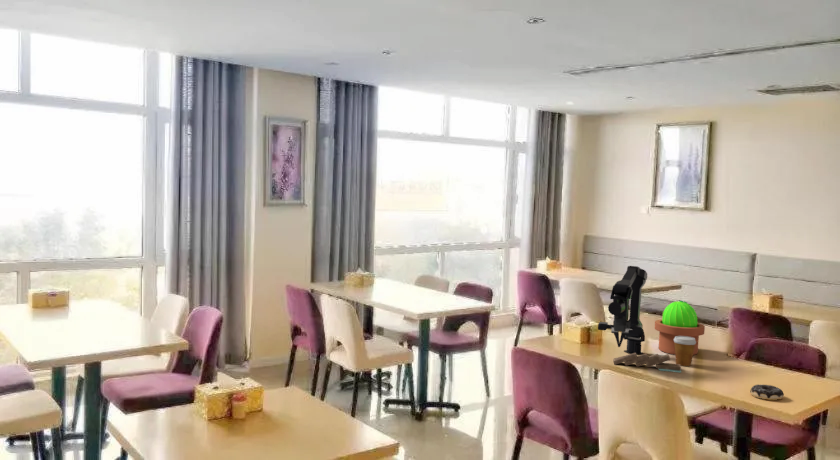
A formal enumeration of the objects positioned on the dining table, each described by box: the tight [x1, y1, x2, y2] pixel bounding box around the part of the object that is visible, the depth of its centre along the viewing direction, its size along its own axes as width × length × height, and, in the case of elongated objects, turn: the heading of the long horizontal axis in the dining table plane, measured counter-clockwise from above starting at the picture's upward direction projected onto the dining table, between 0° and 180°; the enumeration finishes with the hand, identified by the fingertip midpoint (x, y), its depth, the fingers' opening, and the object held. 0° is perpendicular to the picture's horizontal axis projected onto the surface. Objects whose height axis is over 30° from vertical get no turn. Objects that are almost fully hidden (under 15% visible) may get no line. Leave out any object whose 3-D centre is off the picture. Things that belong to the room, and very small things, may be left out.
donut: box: [749, 384, 785, 401], centre depth 269 cm, size 11×12×4 cm
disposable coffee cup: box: [674, 336, 696, 367], centre depth 314 cm, size 10×10×12 cm
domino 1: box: [613, 353, 638, 365], centre depth 311 cm, size 2×5×10 cm
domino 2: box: [623, 353, 649, 367], centre depth 309 cm, size 2×5×10 cm
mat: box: [658, 368, 682, 373], centre depth 305 cm, size 9×8×1 cm
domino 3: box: [634, 353, 660, 368], centre depth 308 cm, size 2×5×10 cm
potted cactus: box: [654, 300, 706, 356], centre depth 339 cm, size 22×22×25 cm
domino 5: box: [655, 362, 682, 372], centre depth 305 cm, size 2×5×10 cm
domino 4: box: [645, 353, 671, 368], centre depth 307 cm, size 2×5×10 cm
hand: (619, 346), depth 311 cm, fingers closed
